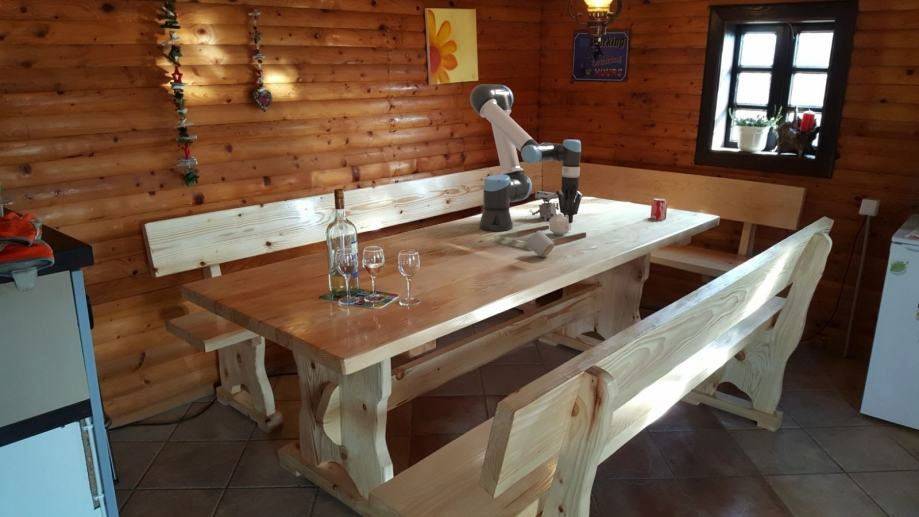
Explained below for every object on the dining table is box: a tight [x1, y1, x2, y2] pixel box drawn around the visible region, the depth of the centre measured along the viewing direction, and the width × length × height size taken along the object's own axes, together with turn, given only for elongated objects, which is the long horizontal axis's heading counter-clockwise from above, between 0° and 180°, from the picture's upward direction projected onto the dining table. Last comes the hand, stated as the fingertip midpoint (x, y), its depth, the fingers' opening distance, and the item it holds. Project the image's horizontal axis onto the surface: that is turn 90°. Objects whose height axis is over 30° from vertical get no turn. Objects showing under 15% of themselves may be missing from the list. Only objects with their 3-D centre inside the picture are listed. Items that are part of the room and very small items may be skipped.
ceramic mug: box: [526, 230, 555, 258], centre depth 254 cm, size 11×8×8 cm
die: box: [548, 212, 570, 236], centre depth 290 cm, size 8×9×10 cm
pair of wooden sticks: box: [493, 224, 587, 251], centre depth 282 cm, size 21×34×2 cm, turn 133°
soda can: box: [650, 197, 668, 221], centre depth 317 cm, size 7×7×12 cm
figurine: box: [530, 190, 560, 222], centre depth 318 cm, size 9×12×15 cm
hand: (567, 230), depth 295 cm, fingers closed
